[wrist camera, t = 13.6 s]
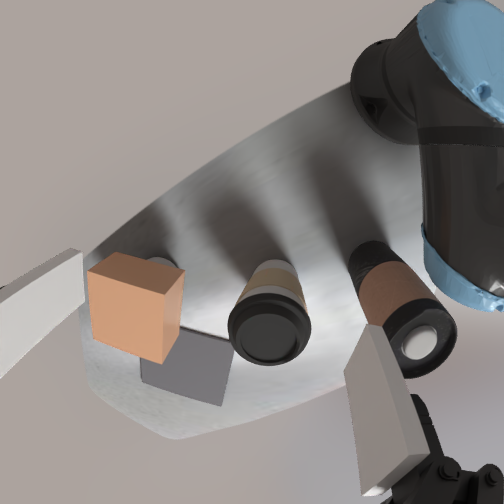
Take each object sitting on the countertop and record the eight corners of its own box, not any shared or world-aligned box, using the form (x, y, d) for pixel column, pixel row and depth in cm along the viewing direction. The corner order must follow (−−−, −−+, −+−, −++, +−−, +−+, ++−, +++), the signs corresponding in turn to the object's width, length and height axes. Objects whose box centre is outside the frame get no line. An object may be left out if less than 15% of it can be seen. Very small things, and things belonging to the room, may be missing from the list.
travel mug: (364, 297, 42) (403, 392, 23) (336, 261, 40) (367, 349, 22) (404, 266, 39) (467, 345, 21) (377, 228, 38) (442, 293, 19)
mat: (236, 342, 47) (235, 344, 47) (221, 404, 53) (221, 406, 52) (141, 315, 48) (140, 316, 47) (143, 380, 54) (141, 381, 53)
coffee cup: (234, 291, 44) (209, 354, 30) (261, 240, 41) (246, 289, 27) (286, 317, 44) (283, 386, 30) (317, 270, 41) (330, 329, 27)
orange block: (185, 270, 37) (164, 294, 31) (178, 334, 41) (161, 364, 34) (115, 251, 38) (87, 270, 31) (116, 314, 41) (93, 338, 35)
